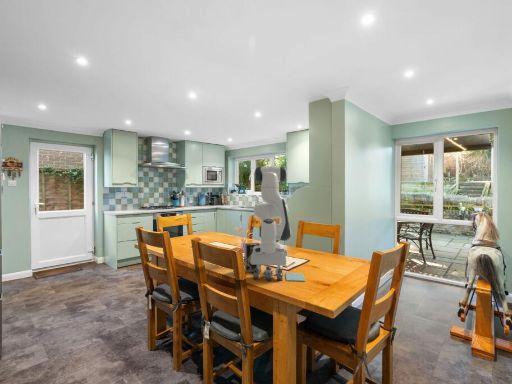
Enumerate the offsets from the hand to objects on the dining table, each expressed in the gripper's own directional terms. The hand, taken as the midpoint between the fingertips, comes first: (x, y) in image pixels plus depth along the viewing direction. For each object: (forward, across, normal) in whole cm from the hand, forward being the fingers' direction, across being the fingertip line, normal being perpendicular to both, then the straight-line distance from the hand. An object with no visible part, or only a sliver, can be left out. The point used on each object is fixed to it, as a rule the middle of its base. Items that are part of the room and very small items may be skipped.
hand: (268, 272), depth 148 cm
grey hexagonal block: (+2, 0, 0) cm, 2 cm away
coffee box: (+2, +10, -10) cm, 14 cm away
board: (+2, -15, 0) cm, 15 cm away
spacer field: (+2, 0, 0) cm, 2 cm away
